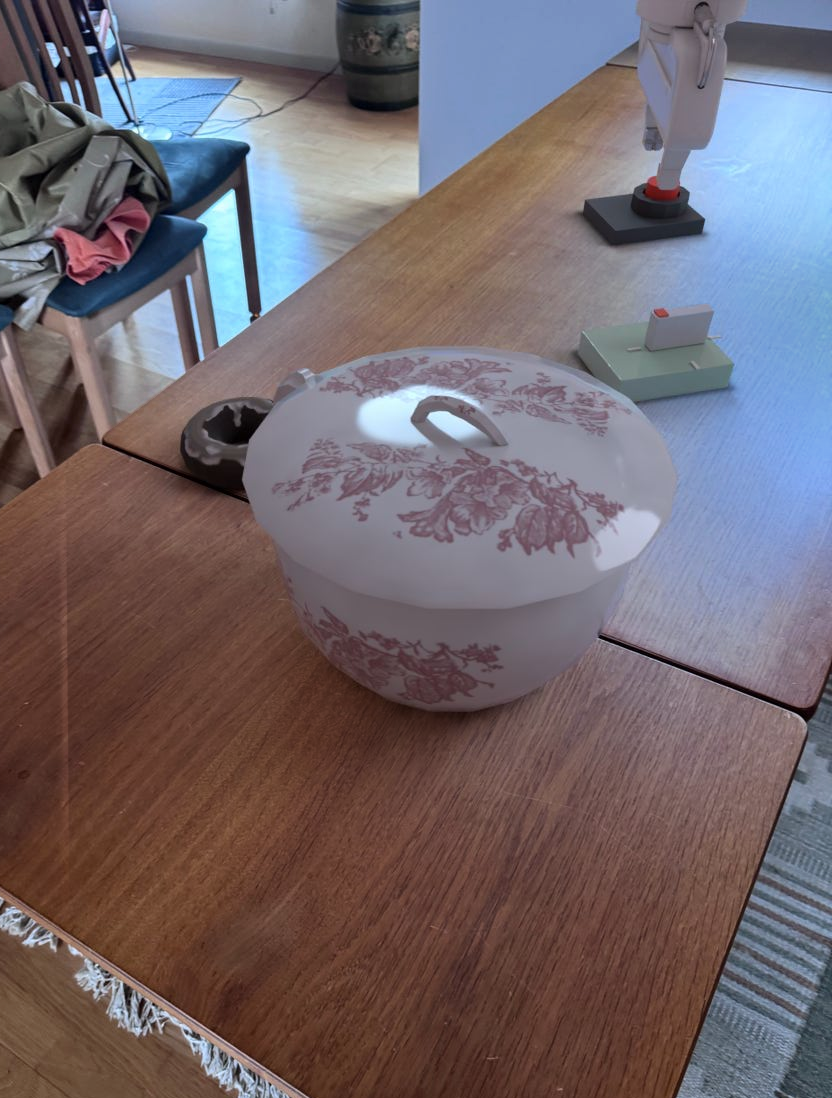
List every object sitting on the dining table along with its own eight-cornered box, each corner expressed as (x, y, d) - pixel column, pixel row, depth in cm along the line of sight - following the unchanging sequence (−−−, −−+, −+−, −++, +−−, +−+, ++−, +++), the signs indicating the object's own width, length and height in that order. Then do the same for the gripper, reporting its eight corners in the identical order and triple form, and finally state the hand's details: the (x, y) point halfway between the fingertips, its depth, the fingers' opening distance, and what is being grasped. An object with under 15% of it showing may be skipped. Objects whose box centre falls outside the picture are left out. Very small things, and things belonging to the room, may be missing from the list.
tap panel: (690, 339, 98) (697, 311, 96) (737, 389, 92) (746, 360, 89) (576, 356, 97) (581, 328, 94) (615, 408, 90) (621, 379, 88)
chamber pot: (674, 765, 61) (769, 530, 46) (268, 796, 61) (228, 568, 45) (576, 504, 80) (620, 276, 65) (266, 525, 80) (237, 300, 64)
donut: (332, 456, 86) (330, 420, 83) (238, 515, 81) (232, 478, 78) (251, 410, 92) (247, 375, 89) (159, 462, 86) (150, 426, 83)
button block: (666, 205, 122) (673, 174, 119) (701, 236, 115) (709, 204, 112) (582, 216, 120) (586, 185, 118) (612, 248, 114) (618, 216, 111)
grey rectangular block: (698, 335, 93) (707, 300, 90) (705, 343, 92) (715, 308, 89) (643, 343, 92) (651, 308, 90) (650, 351, 91) (658, 316, 89)
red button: (668, 187, 117) (671, 173, 116) (682, 200, 114) (685, 185, 113) (639, 191, 117) (642, 177, 115) (653, 203, 114) (656, 189, 113)
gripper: (760, 23, 68) (713, 213, 78) (711, -40, 81) (676, 128, 91) (673, 25, 68) (638, 213, 78) (639, -38, 82) (612, 129, 92)
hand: (658, 166), depth 85 cm, fingers open, 8 cm apart
